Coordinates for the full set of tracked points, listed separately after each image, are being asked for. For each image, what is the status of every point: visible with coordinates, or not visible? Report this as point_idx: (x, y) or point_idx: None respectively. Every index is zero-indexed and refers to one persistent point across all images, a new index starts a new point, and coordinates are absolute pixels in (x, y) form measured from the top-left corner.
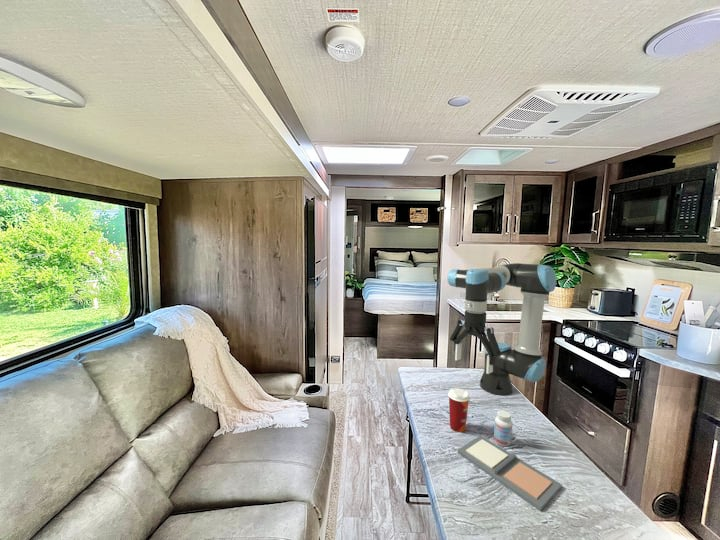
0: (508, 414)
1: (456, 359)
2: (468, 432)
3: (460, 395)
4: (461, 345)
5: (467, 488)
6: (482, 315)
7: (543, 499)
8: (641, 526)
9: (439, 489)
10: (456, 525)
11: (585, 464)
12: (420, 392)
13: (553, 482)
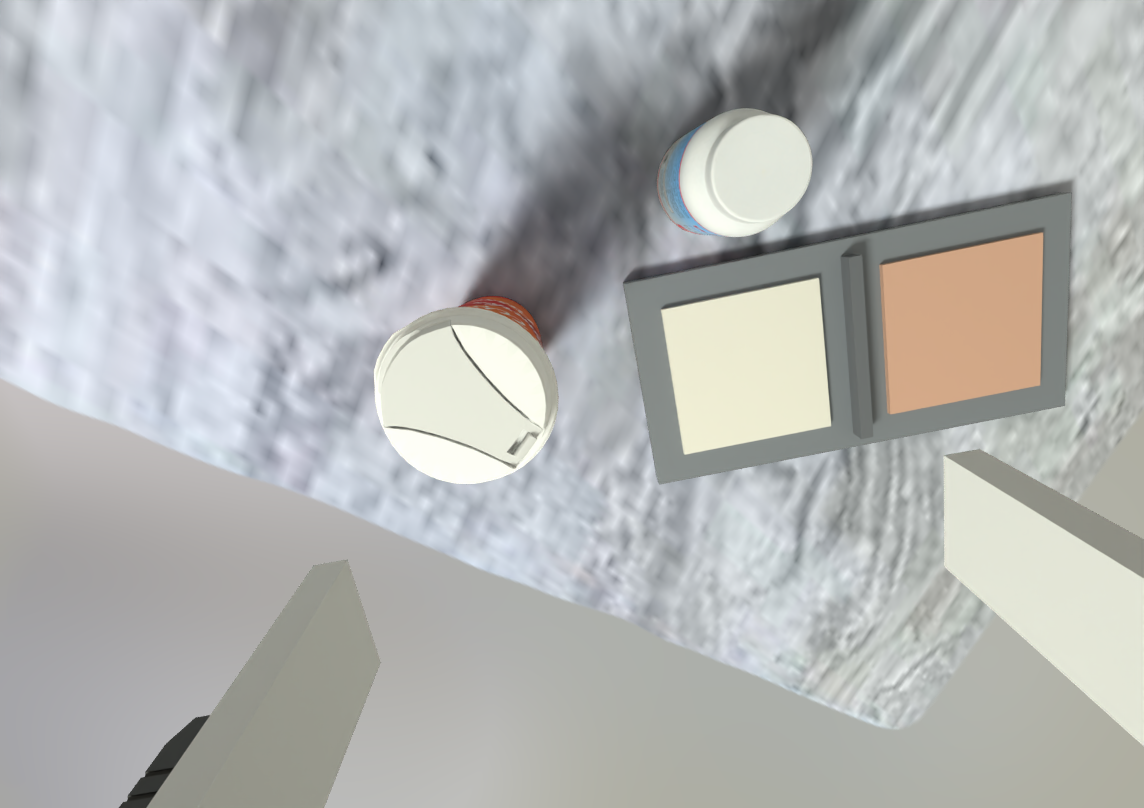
0: (786, 142)
1: (372, 679)
2: (557, 312)
3: (507, 428)
4: (210, 798)
5: (828, 573)
6: None
7: (1054, 357)
8: None
9: (776, 665)
10: (909, 695)
11: None
12: (40, 309)
13: (1041, 221)
